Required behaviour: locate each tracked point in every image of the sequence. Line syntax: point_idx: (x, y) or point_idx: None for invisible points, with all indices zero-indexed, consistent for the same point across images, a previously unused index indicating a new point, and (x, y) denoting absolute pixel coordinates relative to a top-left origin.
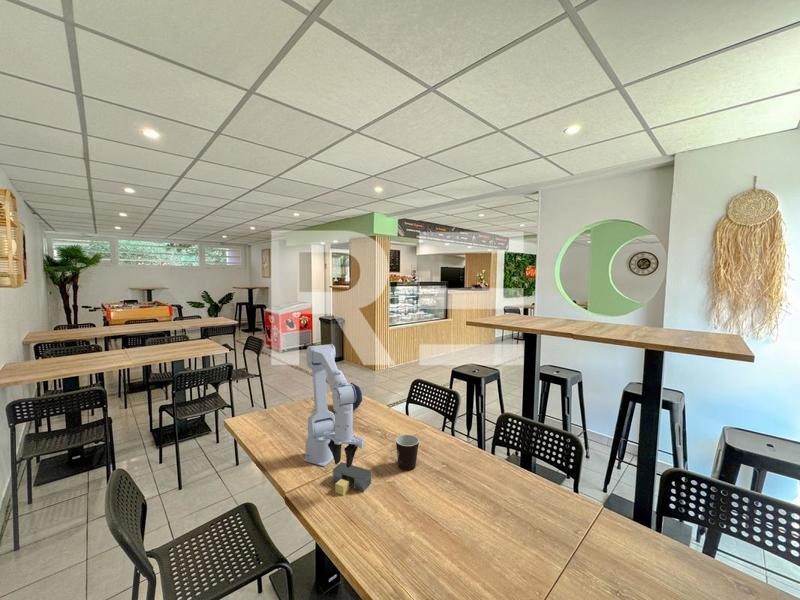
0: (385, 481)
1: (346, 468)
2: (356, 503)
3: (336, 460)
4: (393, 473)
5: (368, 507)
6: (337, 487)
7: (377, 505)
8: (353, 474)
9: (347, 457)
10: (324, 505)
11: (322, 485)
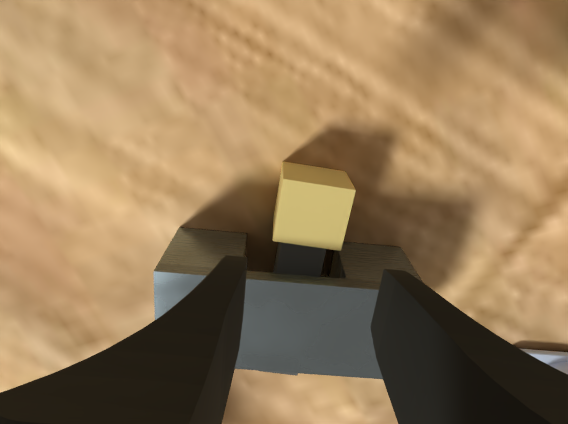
0: (112, 340)
1: (335, 332)
2: (166, 120)
3: (400, 292)
4: None
5: (76, 111)
6: (334, 180)
7: (36, 146)
8: (252, 290)
9: (196, 321)
10: (358, 29)
11: (453, 202)
